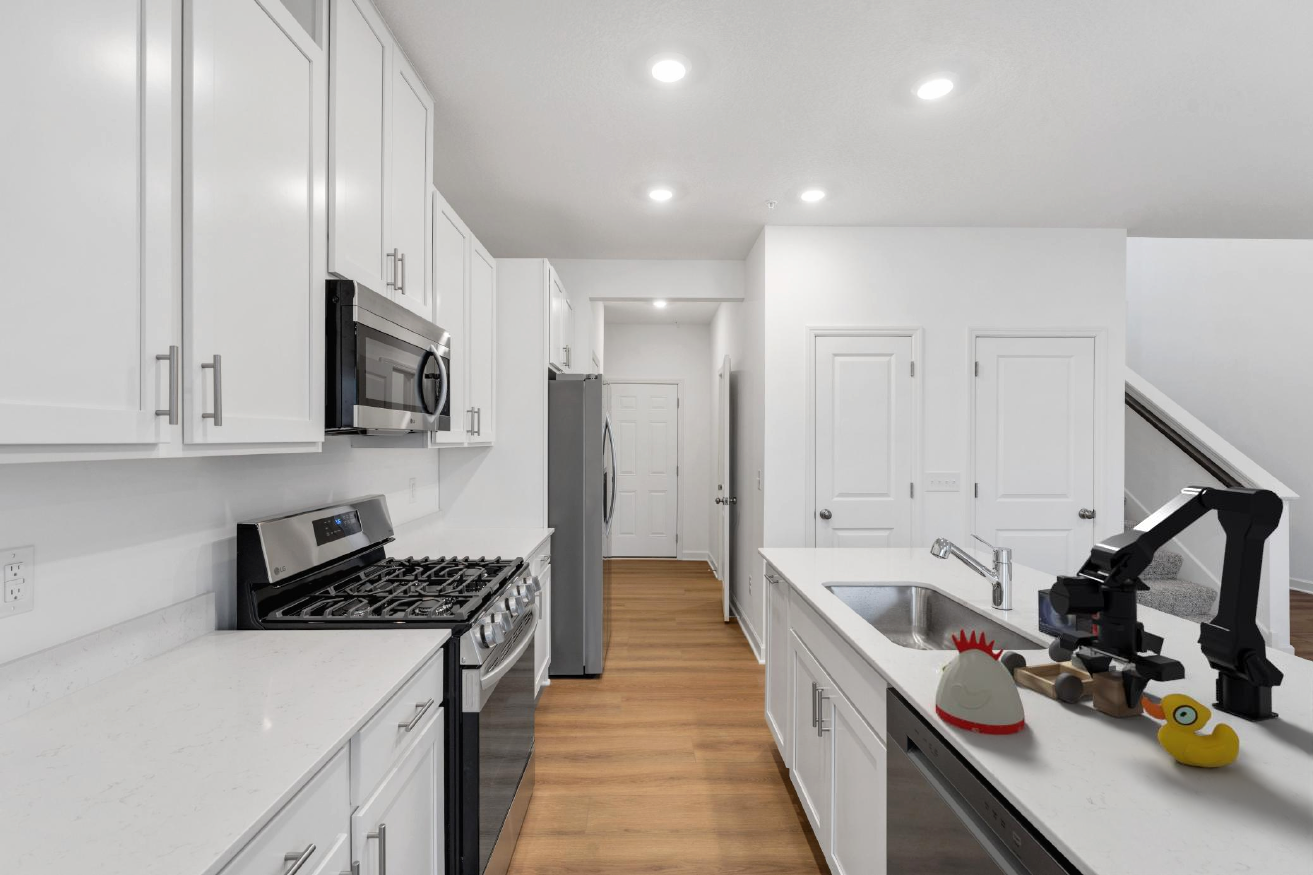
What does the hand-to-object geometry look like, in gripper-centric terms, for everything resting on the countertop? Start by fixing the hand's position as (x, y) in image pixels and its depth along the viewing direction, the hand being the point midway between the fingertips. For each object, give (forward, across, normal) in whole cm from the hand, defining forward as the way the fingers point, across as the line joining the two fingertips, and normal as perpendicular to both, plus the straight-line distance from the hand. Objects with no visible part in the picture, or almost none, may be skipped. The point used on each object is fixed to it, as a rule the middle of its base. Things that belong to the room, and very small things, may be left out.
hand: (1118, 702), depth 111 cm
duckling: (+2, -16, +7) cm, 18 cm away
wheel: (+2, +21, -12) cm, 24 cm away
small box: (+2, +36, -30) cm, 47 cm away
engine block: (+1, 0, 0) cm, 1 cm away
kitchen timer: (+2, +6, +25) cm, 26 cm away
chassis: (+2, +12, -3) cm, 12 cm away
